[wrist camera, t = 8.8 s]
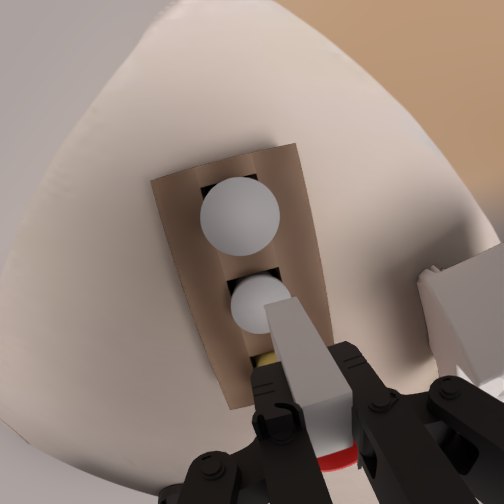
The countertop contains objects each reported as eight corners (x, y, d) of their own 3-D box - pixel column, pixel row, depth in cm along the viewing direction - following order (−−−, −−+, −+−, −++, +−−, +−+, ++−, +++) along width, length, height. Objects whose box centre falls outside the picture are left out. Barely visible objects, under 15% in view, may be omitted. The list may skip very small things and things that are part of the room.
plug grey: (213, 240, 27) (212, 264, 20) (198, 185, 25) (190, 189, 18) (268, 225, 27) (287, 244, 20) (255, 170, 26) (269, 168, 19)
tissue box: (506, 317, 36) (571, 424, 14) (428, 353, 42) (464, 484, 19) (496, 205, 31) (618, 291, 9) (402, 246, 37) (477, 387, 14)
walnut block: (227, 377, 35) (230, 410, 29) (163, 179, 29) (150, 180, 23) (322, 351, 36) (338, 379, 30) (280, 148, 29) (295, 142, 23)
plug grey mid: (234, 305, 32) (240, 340, 25) (221, 261, 31) (223, 287, 24) (280, 292, 32) (297, 324, 25) (269, 248, 31) (285, 270, 24)
